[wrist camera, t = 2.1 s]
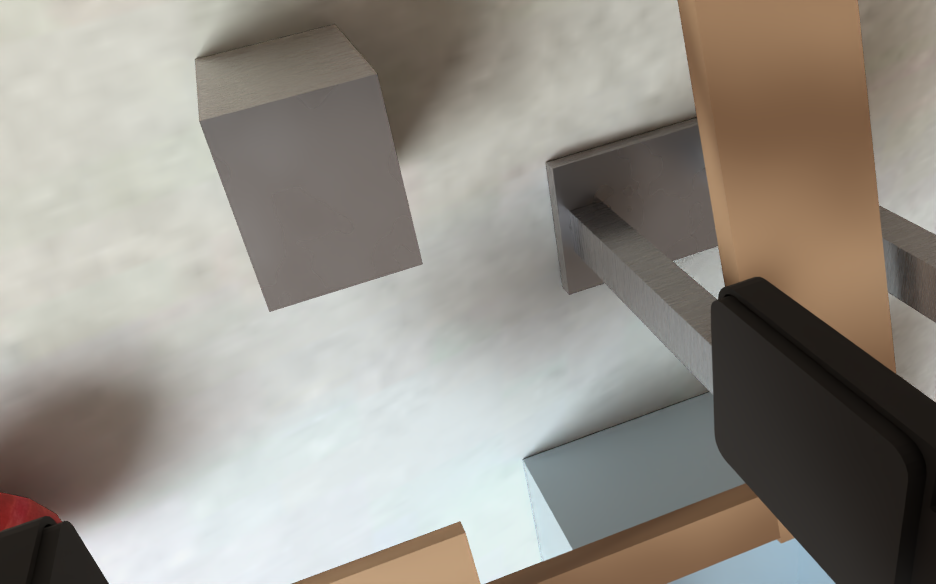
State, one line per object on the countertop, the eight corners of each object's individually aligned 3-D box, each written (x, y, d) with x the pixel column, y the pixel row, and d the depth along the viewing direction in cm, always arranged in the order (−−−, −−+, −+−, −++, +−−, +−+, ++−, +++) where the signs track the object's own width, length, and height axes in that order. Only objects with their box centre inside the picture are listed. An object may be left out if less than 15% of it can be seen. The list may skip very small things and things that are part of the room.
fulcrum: (545, 162, 27) (708, 304, 19) (770, 95, 29) (1013, 200, 20) (562, 287, 30) (711, 460, 21) (767, 220, 31) (982, 358, 23)
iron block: (195, 59, 22) (199, 121, 17) (334, 23, 23) (377, 73, 18) (251, 218, 25) (269, 311, 20) (375, 182, 26) (422, 263, 21)
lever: (-135, -335, 15) (-236, -444, 12) (782, -484, 18) (887, -600, 15) (310, 775, 23) (318, 879, 20) (895, 534, 26) (978, 592, 23)
